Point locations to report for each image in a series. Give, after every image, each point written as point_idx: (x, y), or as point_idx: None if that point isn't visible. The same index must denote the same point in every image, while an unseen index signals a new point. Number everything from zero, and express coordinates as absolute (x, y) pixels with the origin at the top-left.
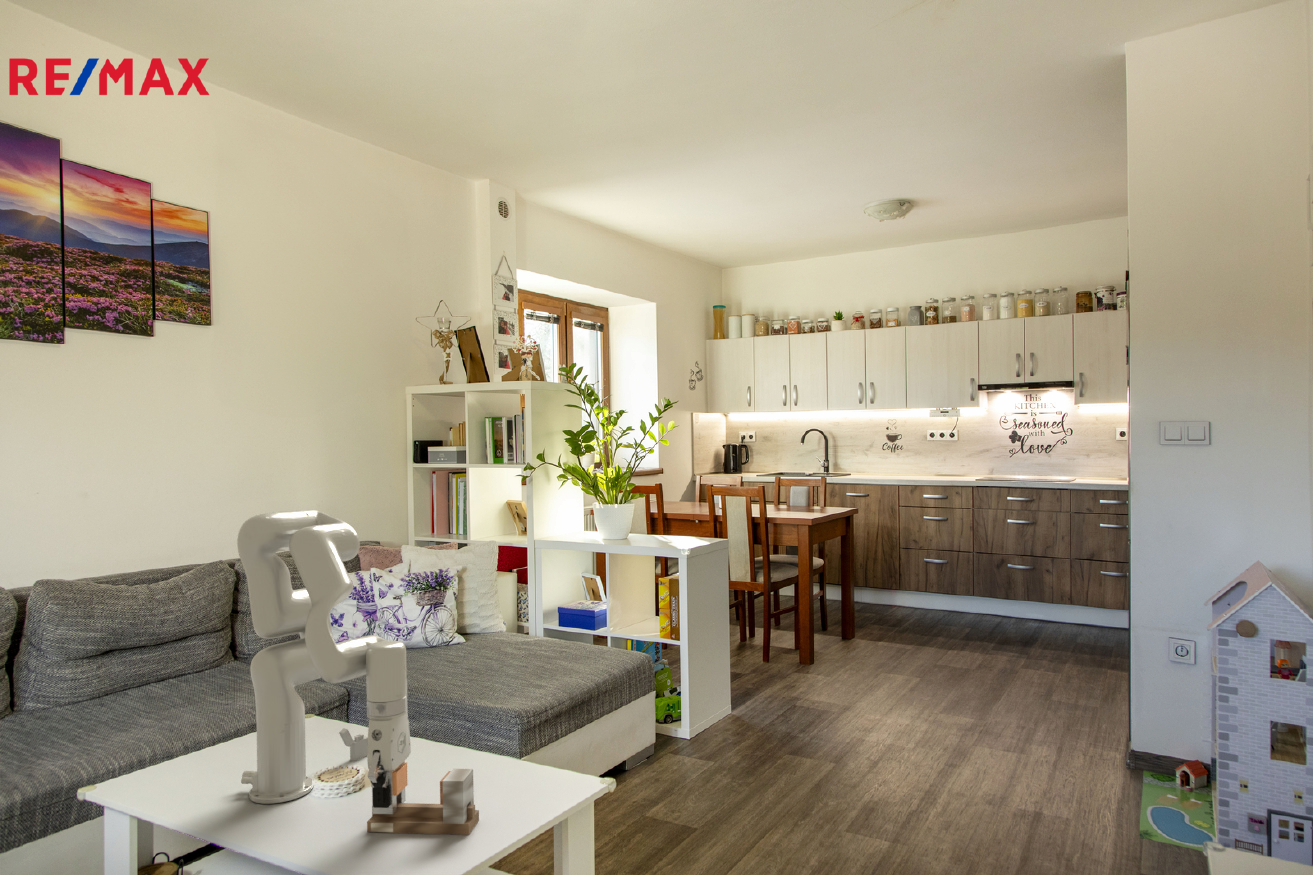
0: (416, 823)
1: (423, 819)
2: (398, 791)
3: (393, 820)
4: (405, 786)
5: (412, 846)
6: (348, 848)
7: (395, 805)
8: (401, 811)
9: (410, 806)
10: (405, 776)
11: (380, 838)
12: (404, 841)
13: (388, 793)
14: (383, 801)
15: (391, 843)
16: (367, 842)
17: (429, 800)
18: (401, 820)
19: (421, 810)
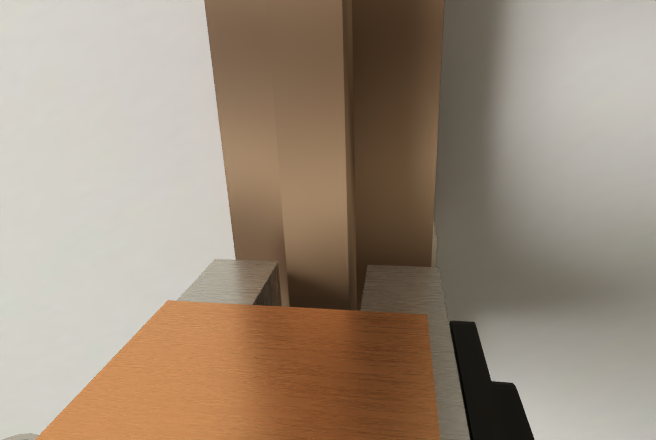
0: (440, 73)
1: (385, 39)
2: (387, 327)
3: (406, 249)
4: (213, 305)
5: (628, 16)
6: (606, 375)
7: (387, 285)
8: (351, 230)
9: (338, 175)
10: (157, 372)
11: (495, 262)
12: (544, 106)
13: (498, 407)
14: (510, 391)
15: (566, 177)
16: (541, 310)
17: (26, 174)
18: (405, 198)
19: (347, 71)
